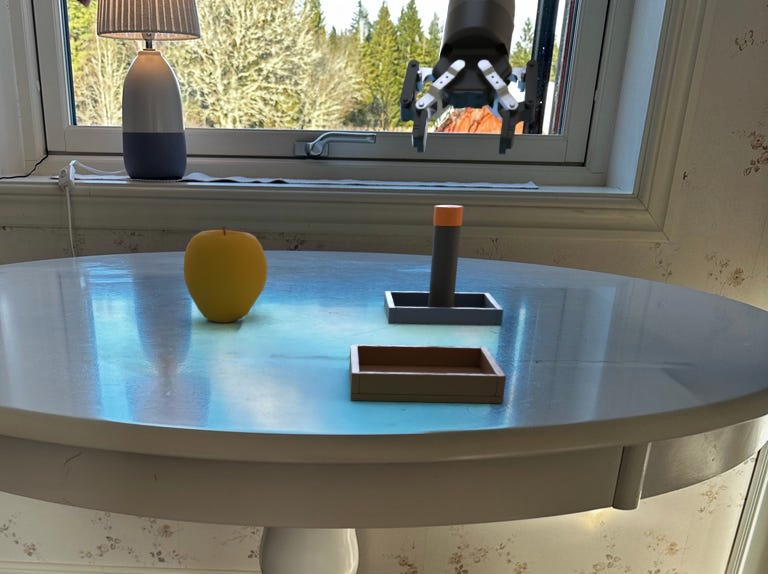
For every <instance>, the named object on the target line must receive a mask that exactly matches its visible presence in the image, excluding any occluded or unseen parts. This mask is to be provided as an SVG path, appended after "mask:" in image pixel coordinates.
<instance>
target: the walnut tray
mask: <svg viewBox="0 0 768 574" xmlns="http://www.w3.org/2000/svg"><path fill="white" fill-rule="evenodd" d="M348 366H349V367H348V371H349V374H348V375H349V394H350V395H349V396H350V401H357V402H359V401H360V402H361V401H362V402H368V401H369V402H410V403H411V402H412V403H418V402H419V403H461V404H465V403H466V404H503V403H504V396H505V390H506V380H507V376H506V374H505V372H504V371H503V369H502V368H501V366H500V365H499V363H498V362H497V360H496V359H495V357H494V356H493V353H492V352H491V351H490V349H489V347H488V346H470V345H469V346H467V345H466V346H465V345H463V346H461V345H415V344H414V345H412V344H411V345H407V344H361V343H360V344H359V343H358V344H353V343H352V344H349V365H348Z"/></svg>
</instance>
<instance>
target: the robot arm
mask: <svg viewBox="0 0 768 574" xmlns="http://www.w3.org/2000/svg"><path fill="white" fill-rule="evenodd" d="M515 17H516V0H448V2H447V5H446V9H445V17H444V22H443V29H442V35H441V42H440V48H439V55H438V60H437V62H436V63H435V64H434V65H433V67H426V66H425V67H424V66H420V62H419V61H418V60H417V59H412V60H410V61H408V64H407V67H406V71H405V76H404V80H403V84H402V88H401V92H400V96H399V114H400V115H399V117H400V121H401V122H403V123H407V122H410V121H411V122H413V124H412V130H411V144H412V148H416V149H417V153H418V154H425V150H426V145H427V137H428V132H429V124H430V122H431V121H432V120H433V119H435V118H436V117H437V118H440V117H441V116H442V115H443V114H444V113H445V112H447V111H448V110H449V109H450V108H451V107H452V109H453V110H461V109H465V108H466V109H467V108H469V109H474V110H483V107H486V108H487V109H488V110H489V112H490V114H492V115H493V116H494V118H498V119H499V120H500V121H501V126H500V127H501V128H500V135H499V144H498V145H499V147H498V155H506V153H507V150H511V149H512V148H513V146H514V142H515V135H516V127H517V125H518V124H520V123H521V122H524V123H525V124H531V123H533V122H534V121H535V118H536V106H537V101H538V99H537V96H538V74H539V71H538V70H539V63H538V61H537V60H536V59H530V60H528V61H527V62H526V63H525V66H518V67H517V66H515V67H512V65H511V63H510V55H511V48H512V41H513V33H514V30H515ZM430 82H431V84H430V86H429V88H428V90H427V92H426V93H425V94H424V95H423V96H422V97H420V98H419V99H418V100H417V97H418V93H421V92H422V91H423V89H424V88H425V87H426V85H427V83H430ZM511 82H512V83H515V84H516V87H517V89H519V92H520V93H523V100H522V101H517V100H516V99H515V97H514V96H513V95H512V93H510V91H509V86H510V85H511ZM416 100H417V101H416Z"/></svg>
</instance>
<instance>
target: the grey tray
mask: <svg viewBox="0 0 768 574" xmlns="http://www.w3.org/2000/svg"><path fill="white" fill-rule="evenodd" d="M428 302H429V291H402V290H401V291H399V290H398V291H396V290H392V291H390V290H385V291H384V298H383V307H384V312H385V316H386V320H387V324H388V325H436V326H438V325H440V326H441V325H442V326H488V327H489V326H491V327H492V326H497V327H499V326H500V327H501V326H502V325H503V317H504V309H503V307H502V306H501V305H500V304H499V302H498V301H497V300H496V299H495V298H494V297H493V295H491V293H489V292H467V291H466V292H461V291H460V292H459V291H458V292H457V291H455V296H454V307H453V308H446V307H428Z"/></svg>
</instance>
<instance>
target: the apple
mask: <svg viewBox="0 0 768 574" xmlns="http://www.w3.org/2000/svg"><path fill="white" fill-rule="evenodd" d="M183 258H184V259H183V276H184V277H183V278H184V279H183V280H184V283H185V285H186V288H187V290H188V293H189V295H190V297H191V299H192V301H193V303H194V304H195V306H196V308H197V309H198V312H200V313H201V315H202V316H203V318H205V319H207V320H208V321H211V322H215V323H223V324H224V323H225V324H226V323H232V322H236V321H239V320H242V319H243V318H244V317H245V316H247V315H248V314H249V312H250V311H251V309H252V308H253V306H254V305H255V303H256V301H258V298H259V297H260V295H261V294H262V293H263V291H264V288H265V286H266V282H267V279H268V262H267V261H268V260H267V256H266V254H265V252H264V248H263V246H262V244H261V243H260V241H259V240H258V239H257V237H256V236H255V235H253V234H251V233H250V232H245V231H237V230H230V229H226V226H222V229H211V230H202V231H200V232H199V233H198V232H197V234H195V235H194V236H192V237H191V239H190V241H189V242H188V244H187V246H186V249H185V252H184V257H183Z"/></svg>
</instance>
